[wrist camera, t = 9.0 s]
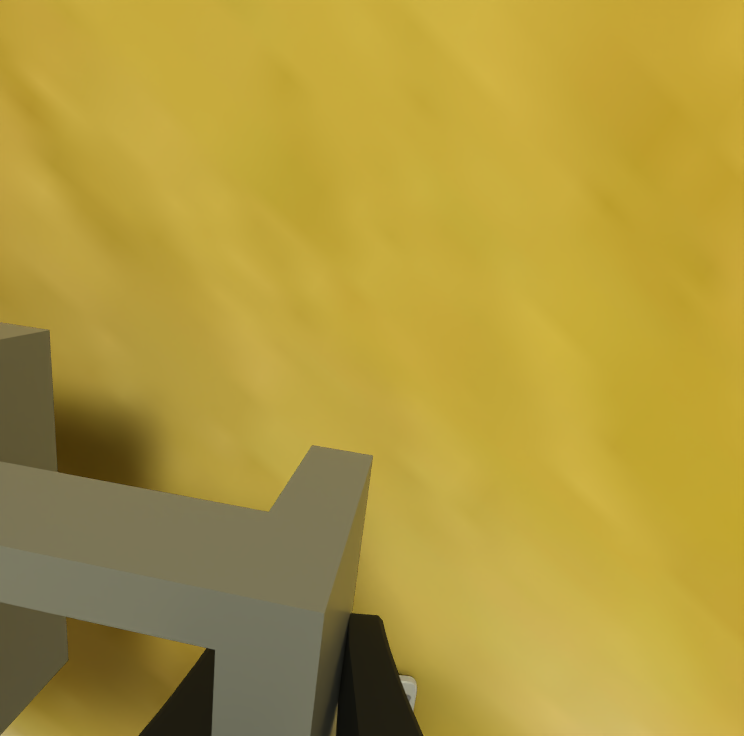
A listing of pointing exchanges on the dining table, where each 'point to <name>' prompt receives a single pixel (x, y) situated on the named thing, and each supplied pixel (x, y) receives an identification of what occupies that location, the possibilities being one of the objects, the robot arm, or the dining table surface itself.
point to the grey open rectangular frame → (174, 567)
